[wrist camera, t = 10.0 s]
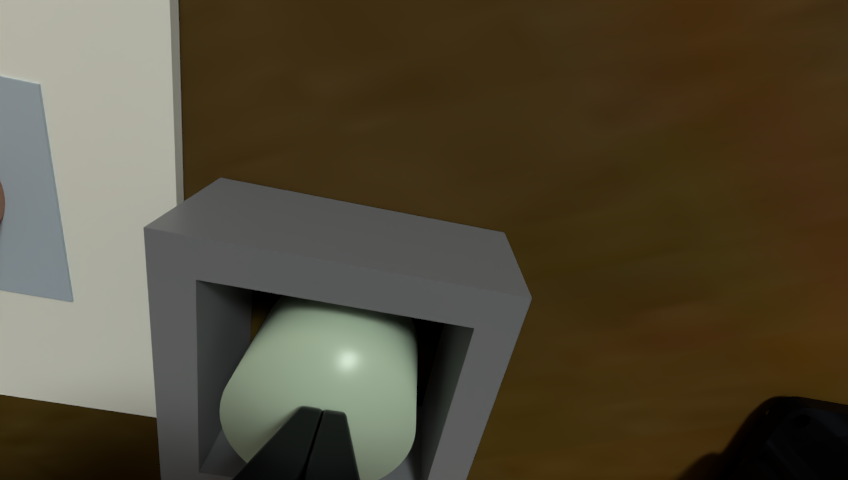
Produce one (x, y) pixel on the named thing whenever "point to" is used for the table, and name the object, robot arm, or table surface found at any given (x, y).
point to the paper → (84, 194)
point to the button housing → (327, 282)
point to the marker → (2, 202)
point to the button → (328, 379)
